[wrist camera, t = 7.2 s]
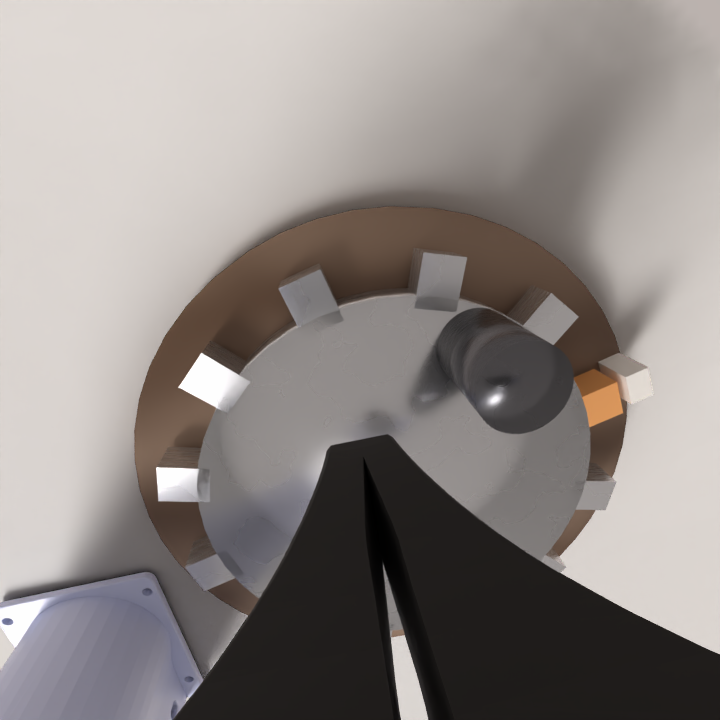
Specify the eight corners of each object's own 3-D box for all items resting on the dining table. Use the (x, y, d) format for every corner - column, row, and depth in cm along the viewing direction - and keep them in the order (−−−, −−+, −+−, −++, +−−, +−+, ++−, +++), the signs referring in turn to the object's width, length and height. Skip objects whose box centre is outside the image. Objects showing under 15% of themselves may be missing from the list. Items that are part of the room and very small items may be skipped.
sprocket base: (598, 572, 26) (633, 617, 23) (223, 655, 25) (212, 713, 22) (627, 162, 17) (688, 155, 14) (58, 260, 16) (6, 273, 13)
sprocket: (360, 674, 24) (374, 800, 19) (68, 459, 17) (-31, 566, 12) (660, 478, 22) (769, 565, 16) (453, 135, 15) (530, 100, 10)
